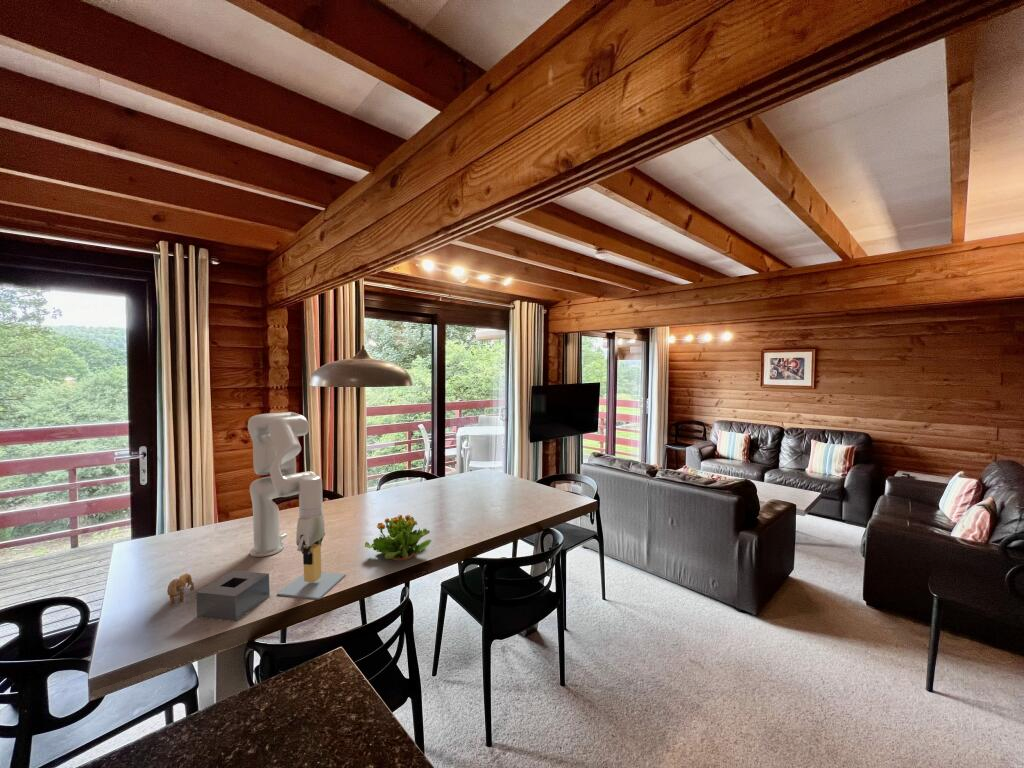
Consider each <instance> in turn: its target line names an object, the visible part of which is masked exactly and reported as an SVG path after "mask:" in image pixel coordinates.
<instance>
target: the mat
mask: <svg viewBox="0 0 1024 768" xmlns="http://www.w3.org/2000/svg"><path fill="white" fill-rule="evenodd" d="M346 576H347V575H346V573H337V572H327V571H325V572H324V571H321V577H320V578H319V579H318V580H317V581H315V582H305V581H304V573H302V574H301V575H299V576H298V577H297V578H295V579H294V580H293V581H292V582H290V583H288V585H286V586H285V587H284V588H282V589H281V590H279V591H278V592H277V593H276V596H279V595H280V596H281V597H290V598H298V599H300V598H301V599H309V600H310V599H311V600H321V599H322V598H323V597H324V596H325V595H326V594H327V593H328V592H329V591H330V590H332V589H333V587H335V586H336V585H337V584H338V583H339V582H340V581H341V580H342V579H344V578H345V577H346Z"/></svg>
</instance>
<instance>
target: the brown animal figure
mask: <svg viewBox="0 0 1024 768" xmlns="http://www.w3.org/2000/svg"><path fill="white" fill-rule="evenodd" d="M192 579H193V578H192V576H191V574H189V573H184V574H182V575H180V576H179V578H175V579H173V580H171V581H170V583H169V584H168V586H167V590H166V591H167V595H168V596H169V600H170V602H169V606H173V605H174V604H175V598H177V597H179V598H178V599H179V603H180V604H181V603H185V600H184V590H185V589H186V588H188V587H189V586H190V588H189V590H190V591H192V590H194V589H195V586H194V582H193V580H192ZM186 584H187V585H186Z"/></svg>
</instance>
